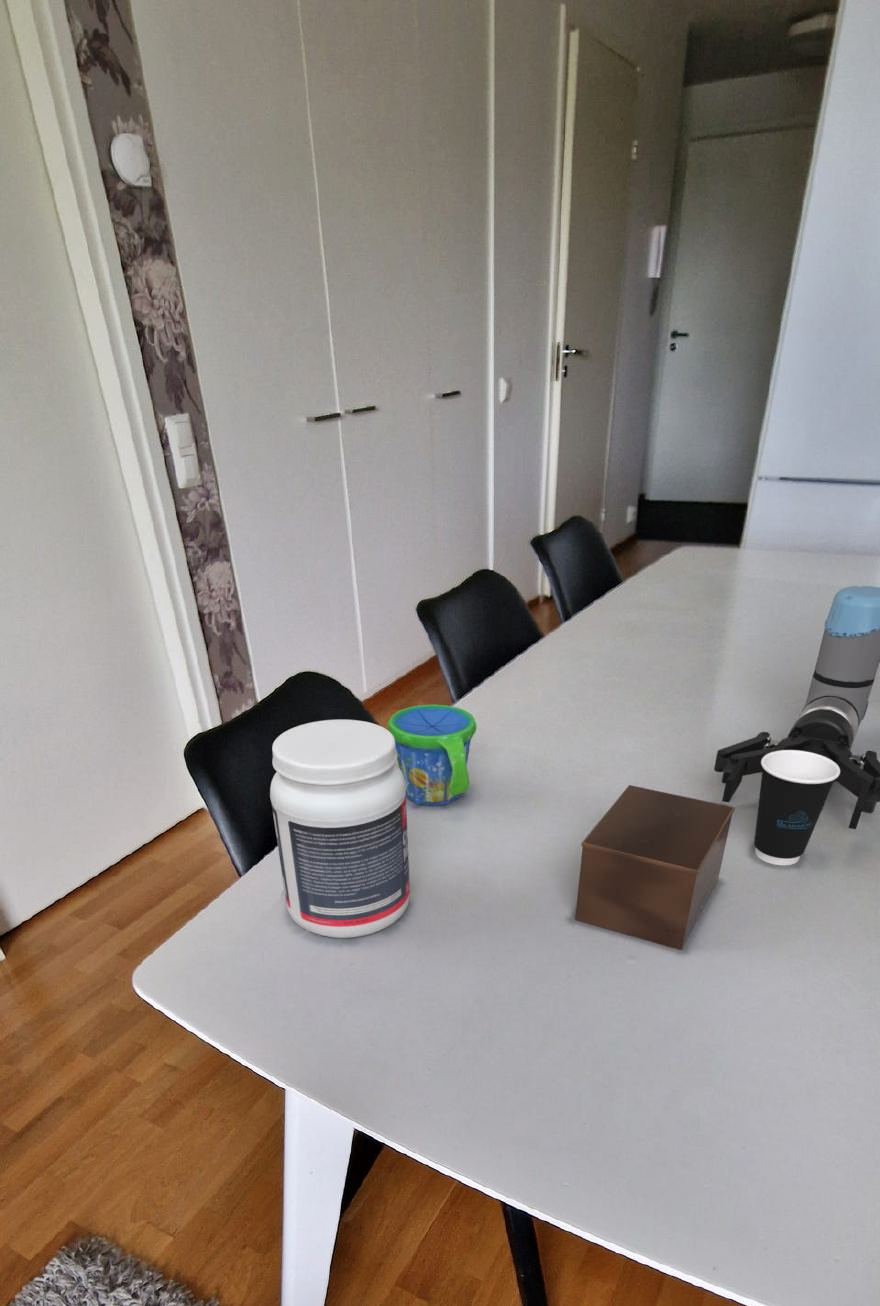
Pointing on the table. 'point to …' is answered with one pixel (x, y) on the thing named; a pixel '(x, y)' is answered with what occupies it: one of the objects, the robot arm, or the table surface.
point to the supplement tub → (341, 827)
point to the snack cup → (433, 751)
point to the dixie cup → (791, 803)
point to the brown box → (652, 865)
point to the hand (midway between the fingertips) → (789, 804)
